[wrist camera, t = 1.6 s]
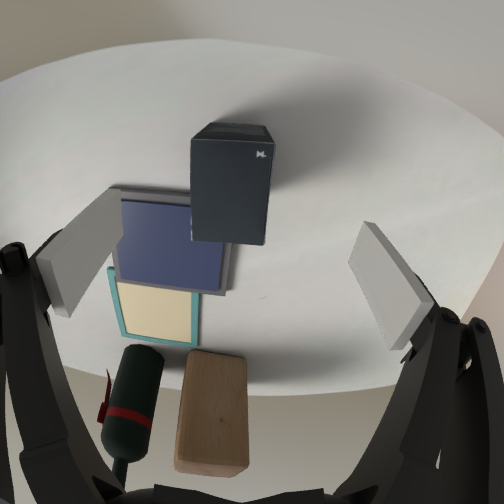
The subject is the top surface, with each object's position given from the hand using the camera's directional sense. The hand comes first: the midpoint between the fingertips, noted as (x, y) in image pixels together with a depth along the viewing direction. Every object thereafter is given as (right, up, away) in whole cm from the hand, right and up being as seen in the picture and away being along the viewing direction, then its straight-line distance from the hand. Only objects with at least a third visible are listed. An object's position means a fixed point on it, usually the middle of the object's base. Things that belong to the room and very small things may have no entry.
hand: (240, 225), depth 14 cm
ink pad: (-9, 0, +18) cm, 20 cm away
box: (-1, +8, +13) cm, 16 cm away
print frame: (-14, -10, +24) cm, 29 cm away
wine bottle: (-20, -20, +31) cm, 42 cm away
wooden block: (-6, -22, +32) cm, 39 cm away
